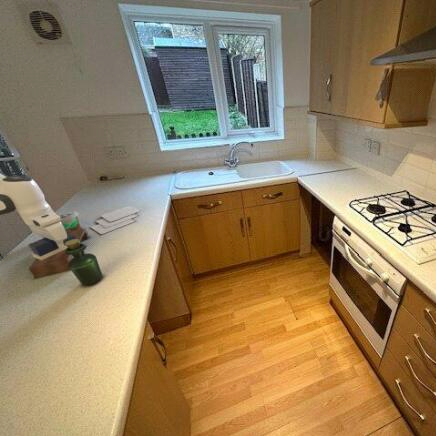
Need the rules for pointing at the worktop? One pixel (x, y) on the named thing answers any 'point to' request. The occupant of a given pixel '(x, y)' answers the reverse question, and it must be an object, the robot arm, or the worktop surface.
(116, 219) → the paper stack
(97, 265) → the potion bottle
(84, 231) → the wooden serving board
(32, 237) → the worktop surface
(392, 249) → the worktop surface
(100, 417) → the worktop surface
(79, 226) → the food container
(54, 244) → the navy stepped box
